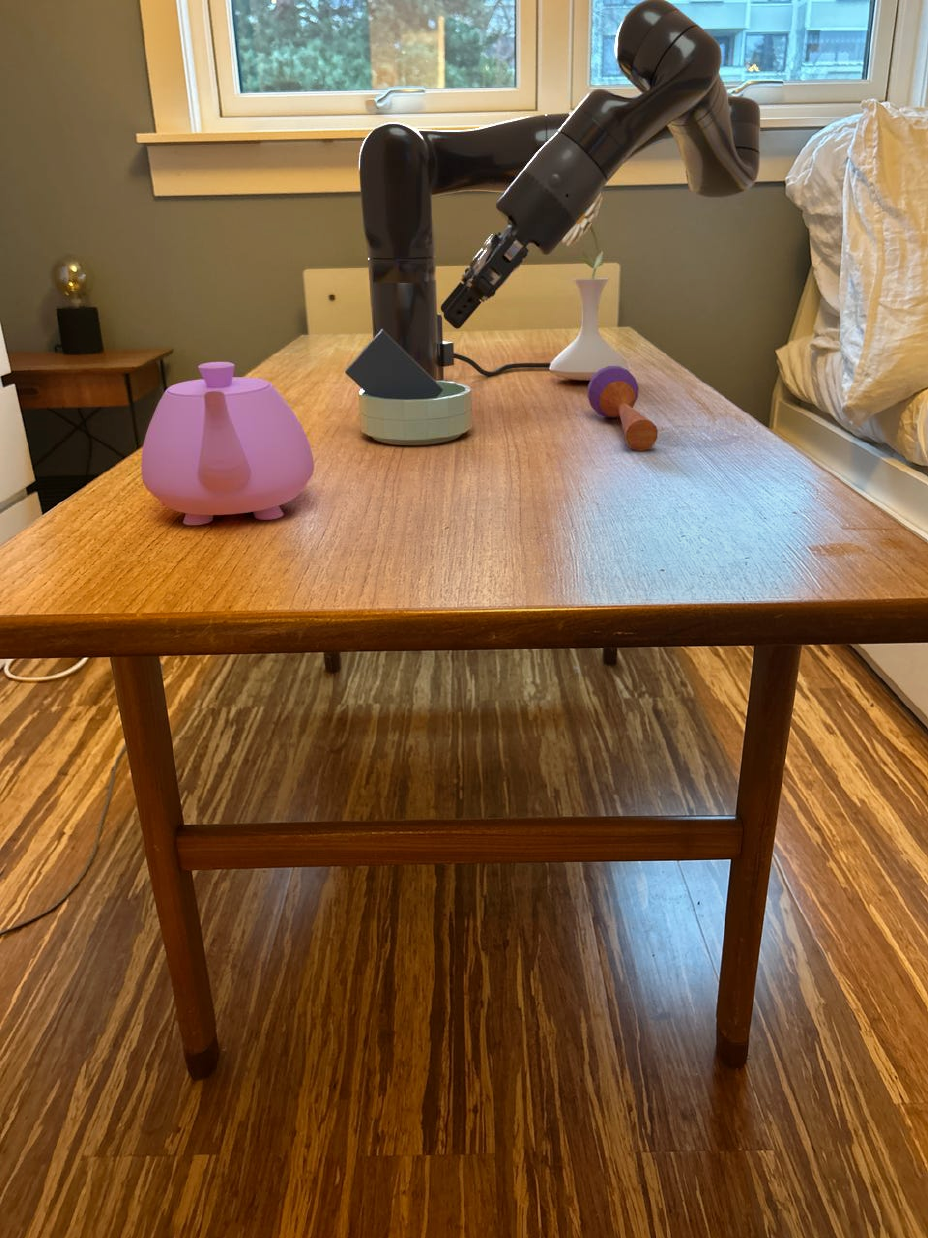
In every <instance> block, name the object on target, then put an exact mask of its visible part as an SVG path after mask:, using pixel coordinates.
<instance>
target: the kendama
mask: <svg viewBox="0 0 928 1238" xmlns="http://www.w3.org/2000/svg"><path fill="white" fill-rule="evenodd" d="M586 393H587V394H586V396H587V399H588V402H589V405H590V407H591V408H592V409H593V411H595V413H596V414H598V415H599V416H601V417H604V418H607V419H609V418H611V419H612V418H613V419H614V418H620V421H621V425H622V430H623V434H624V439H625V442H626V444H627V446H628V447H629V448H630V449H631V450H634V451H637V452H643V451H647V450H649V449H651V448H652V447H653V446H654V445H655V444H656V442H657V440H658V435H659V430H658V428H657V426H656V425H655V424H654V422H653V421H652V420H650V419H649V418H647V417H646V416H644V415H643V414H641V413H640V412H638V411H637V410H636V409H634V406H635V404H636V402H637V400H638V398H639V385H638V382H637V380H636V377H634V375H633V374H632V373H631V372H630V371H629V369H625V368H622V367H620V366H608V367H605V368H603V369H601V370H599V371H598V372H597V373H596V374H595V375H594V376H593V377H592V378H591V380H589V383H588V385H587V392H586Z"/></svg>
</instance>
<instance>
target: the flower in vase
mask: <svg viewBox="0 0 928 1238" xmlns="http://www.w3.org/2000/svg"><path fill="white" fill-rule="evenodd" d="M603 198H604V197H603V196H602V193H601V192H600V193H599V195H598V196H597V198H596V199H595V201H594V202H593V203H592V205H591V206H590V207H589V208H588V209H587V211H586V212H585V213H584V214H583V215H582V217H581V218H580V219H579V220H578V221H577V222H576V224H575V225H574V226H573V227H572V228H571V229H570V231H569V232H568V233H567V234H566V235H565V237H564V238H563V239H562V244H565V245H566V248H567V247H570V246H574V245H575V244H576V243H577V242H579V241H580V240H581V239H582V237H583V236H585V235H586V234H587V232H588V230H590V232H591V236H592V238H593V241H594V245H595V248H596V249H595V250H596V256H595V257H596V258H595V261H594V260H593V259H591V257H589V256H588V254H587V253H586V251H584V250H583V251H582V252H581V254H580V260H581V261H582V263H584V264H586V265H587V266H588V267H590V268H591V269H593V270H592V274H591V278H573V279H572V281H573V282H574V284H575V286H576V288H577V290H578V293H579V296H580V302H581V303H580V304H581V327H580V330H579V333H578V336H577V337H576V338H574V340H573V341H572V342H571V343H570V344H568V346H566V347H565V348H564V349H563V350H562V351H561V352H560V353H559V354H557V356H556V357H554V358H553V360H552V361H551V362H550V363H551V364H550V367H549V371H550V373H551V374H552V375H555V376H557V377H559V378H563V379H565V380H566V379H567V380H573V381H591V378H592V377H593V376H594V375H595V374H596V373H597V372H598V371H599V370H601V369H603V368H605V367H608V366H620V367H622V368H625V369H627V370H629V365H628V362H627V360H626V359H625V358H624V357H623V356H622V354H620V353H619V352H618V351H617V350H616V349H615V348H614V347H613V346H611V345H610V344H609V343H608V342H607V341H606V340H605V339H604V338H603V336H602V335H601V333H600V331H599V319H598V318H599V307H600V300H601V296H602V293H603V290H604V288H605V286H606V284H607V283H608V281H609V280H610V278H609V277H606V278H605V277H601V278H597V277H595V276H596V271H597V268H598V267H601V266H603V265H604V262H603V256H604V250H602V251H601V252H600V247H599V242H598V239H597V236H596V233H595V230H594V227H593V225H592V224H593V222H594V220H596V218H597V217H598V214H599V210H600V208H601V204H602V202H603Z"/></svg>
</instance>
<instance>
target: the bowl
mask: <svg viewBox="0 0 928 1238" xmlns="http://www.w3.org/2000/svg"><path fill="white" fill-rule="evenodd" d="M435 381H436V382H437V383H438V384H439V385H440V386H441V387H442V389H443V391H442V392H441V393H440V394H439V395H438V397H437V398H431V399H410V400H403V399H385V398H379V397H373V396H370V395H368V394H367V393H366V392H365V391H364V390H363V389H362V388H360V389H359V391H358V408H359V423H360V432H362V433H363V434H365V435H367V436H369V437H371V438H372V439H373V440H374V441H376V442H379V443H384V444H388V445H396V446H425V445H427V446H428V445H436V444H440V443H441V444H442V443H447V442H451V441H453V440H456V439H458V438H460V437H461V436H462V434H465V433H466V432H468V431H470V430H471V429H472V428H473V416H472V414H473V412H472V407H473V406H472V404H473V403H472V388H471V386H469V385H467V384H464V383H461V382H456V381H449V380H444V381H437V380H435Z"/></svg>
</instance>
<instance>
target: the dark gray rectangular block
mask: <svg viewBox="0 0 928 1238" xmlns="http://www.w3.org/2000/svg"><path fill="white" fill-rule="evenodd" d="M344 373H345V375H347V376H348V377H349V378H350V379H351V380H352V381H353V382H354V383H355V384H356V385H357V386H358V387H359V388H360V389H363V390H364V391H365V392H366V393H367V394H368V395H370V396H373V397H379V398H385V399H403V400H410V399H431V398H437V397H438V395H439V394H440V393H441V392H442V391H443V389H442V387H441V386H440V385H439V384H438V383H437V382H436V381H435V380H434V379H433V378H432V377H431V376H430V375H429V374H428V373H427V372H426V371H425V370H424V369H423V368H422V367H421V366H420V365H419V364H418V363H417V362H416V361H414V360H413V359H412V358H411V357H410V356H409V355H408V354H407V353H406V352H405V351H404V350H403V349H402V348H401V347H400V346H399V345H398V344H397V343H396V342H395V341H394V340H393V339H392V338H391V337H390V336H389V335H388V334H387V333H386V332H385V331H384V330H383V329H381V330H380V332H379V333H378V334H377V335H376V336H375V337H374V338H373V337H372V339H371V340H370V342H368V344H367V345H366V346H365V347H364V348H363V349H362V350H361V351H360V353H359V354H358V355H357V356H356V357H355V358H354V359H353V361H352V362H351V363H349V365H348V366H347V367H346V368H345V371H344Z"/></svg>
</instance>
